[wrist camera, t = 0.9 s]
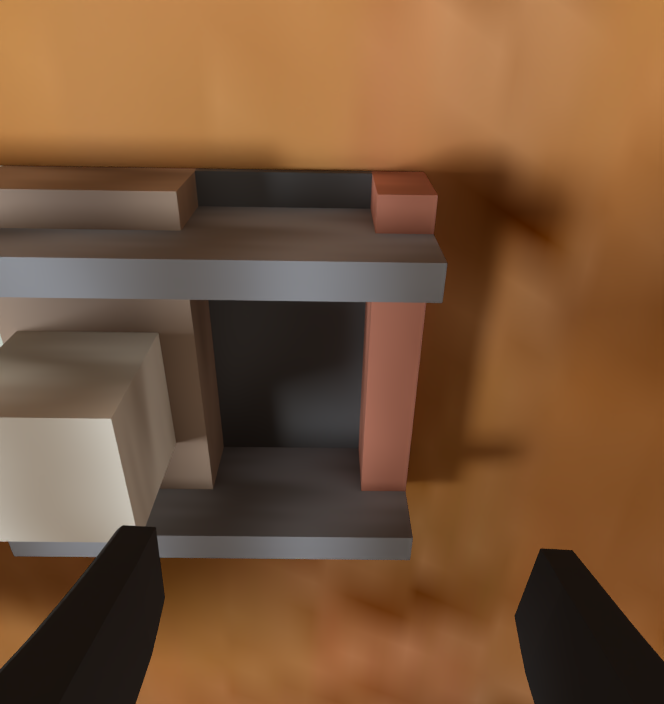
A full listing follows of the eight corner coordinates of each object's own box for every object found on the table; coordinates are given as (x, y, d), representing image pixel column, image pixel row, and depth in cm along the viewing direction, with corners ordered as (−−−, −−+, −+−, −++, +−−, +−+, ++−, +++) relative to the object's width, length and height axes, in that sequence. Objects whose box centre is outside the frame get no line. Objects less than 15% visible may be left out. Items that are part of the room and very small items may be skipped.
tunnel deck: (-65, 478, 22) (-149, 575, 18) (-209, 162, 16) (-381, 208, 12) (394, 483, 22) (407, 580, 18) (424, 171, 16) (452, 220, 12)
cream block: (50, 441, 18) (-16, 541, 15) (16, 331, 16) (-70, 416, 13) (175, 442, 18) (139, 542, 15) (158, 332, 16) (111, 418, 13)
